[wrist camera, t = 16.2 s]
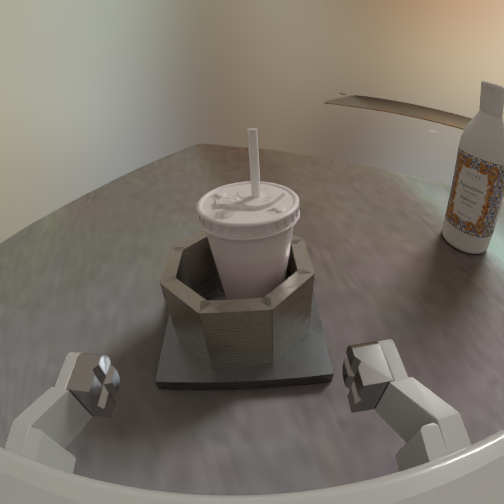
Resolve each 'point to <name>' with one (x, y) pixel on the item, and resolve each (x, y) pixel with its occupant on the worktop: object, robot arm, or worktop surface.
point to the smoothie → (250, 231)
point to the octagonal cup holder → (239, 326)
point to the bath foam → (478, 177)
